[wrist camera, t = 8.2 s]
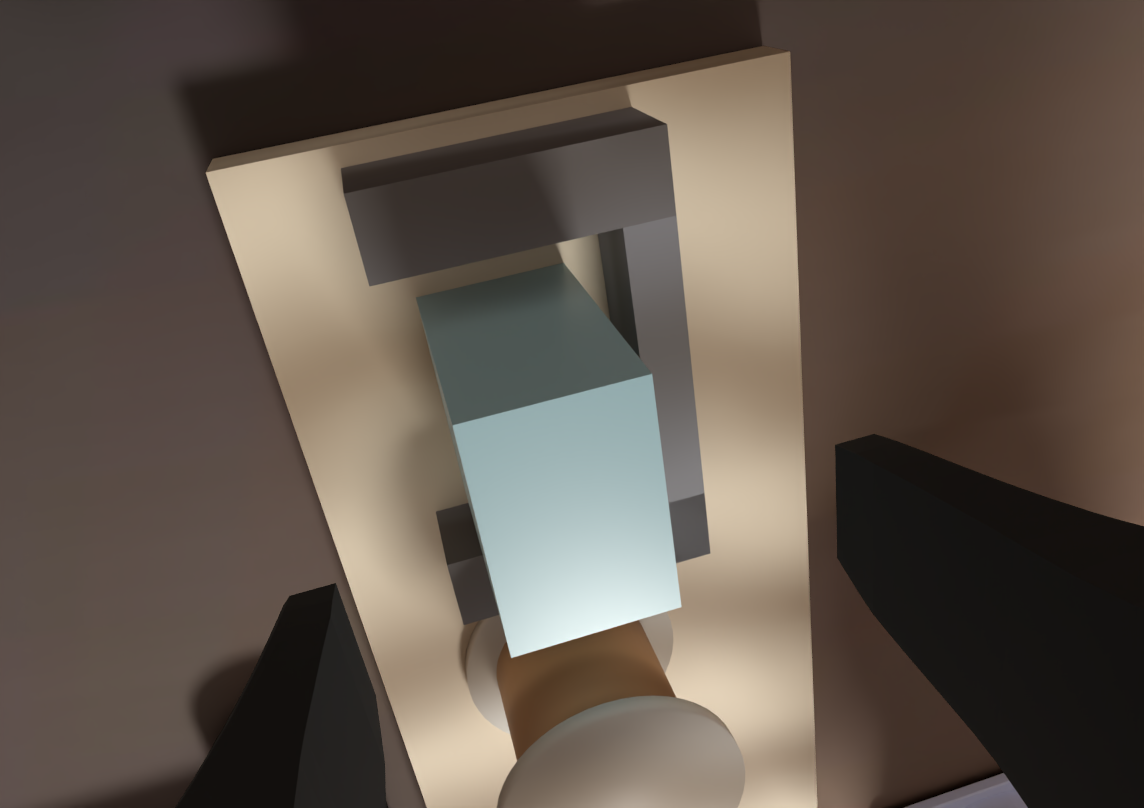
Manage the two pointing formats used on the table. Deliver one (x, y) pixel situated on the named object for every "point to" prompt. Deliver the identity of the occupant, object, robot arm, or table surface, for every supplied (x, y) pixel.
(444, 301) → the pale blue block
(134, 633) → the table surface
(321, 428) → the winding board
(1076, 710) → the robot arm
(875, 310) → the table surface
